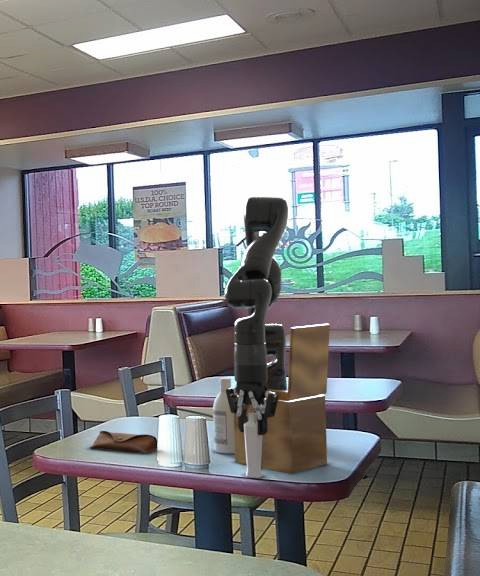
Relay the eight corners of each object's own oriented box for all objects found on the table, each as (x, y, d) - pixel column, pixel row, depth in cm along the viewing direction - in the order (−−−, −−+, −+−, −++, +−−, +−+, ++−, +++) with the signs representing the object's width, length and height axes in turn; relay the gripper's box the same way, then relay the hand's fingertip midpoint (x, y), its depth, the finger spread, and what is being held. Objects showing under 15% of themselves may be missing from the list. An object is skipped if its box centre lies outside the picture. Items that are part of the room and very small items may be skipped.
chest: (235, 462, 212) (233, 395, 211) (271, 453, 220) (269, 389, 220) (291, 473, 198) (288, 401, 198) (327, 464, 206) (325, 395, 206)
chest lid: (290, 327, 196) (293, 328, 196) (326, 323, 205) (329, 324, 204) (287, 399, 198) (290, 400, 197) (323, 393, 206) (326, 393, 205)
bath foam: (236, 448, 228) (234, 376, 228) (244, 453, 221) (241, 379, 221) (211, 449, 228) (209, 377, 228) (218, 454, 221) (215, 380, 221)
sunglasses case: (87, 447, 234) (91, 425, 237) (96, 455, 239) (100, 433, 242) (147, 452, 224) (151, 429, 227) (155, 461, 229) (159, 438, 232)
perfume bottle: (265, 478, 194) (264, 415, 194) (245, 478, 195) (244, 415, 195) (262, 473, 199) (261, 411, 198) (243, 473, 199) (242, 411, 199)
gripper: (286, 362, 193) (288, 435, 193) (236, 359, 205) (238, 427, 205) (265, 365, 188) (268, 439, 189) (216, 361, 200) (218, 431, 201)
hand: (252, 432), depth 197 cm, fingers closed on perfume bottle, 4 cm apart
